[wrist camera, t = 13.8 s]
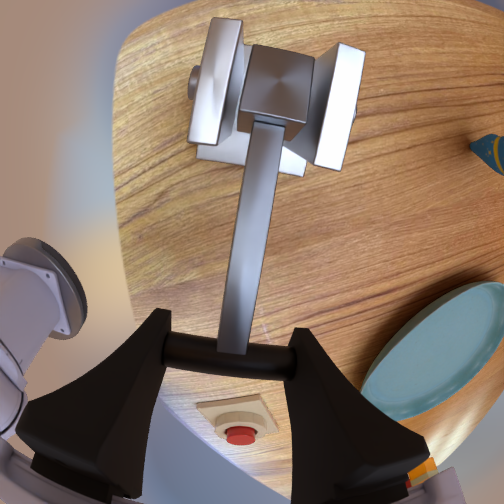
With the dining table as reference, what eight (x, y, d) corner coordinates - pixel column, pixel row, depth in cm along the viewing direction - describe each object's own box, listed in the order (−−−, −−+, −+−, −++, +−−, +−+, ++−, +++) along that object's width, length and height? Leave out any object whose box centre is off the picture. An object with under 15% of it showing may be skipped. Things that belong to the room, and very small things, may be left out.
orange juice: (417, 466, 63) (429, 505, 45) (406, 468, 61) (418, 510, 43) (433, 456, 60) (446, 496, 42) (423, 459, 58) (436, 501, 40)
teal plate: (440, 395, 34) (447, 409, 31) (321, 410, 31) (325, 430, 28) (520, 279, 23) (533, 291, 20) (413, 250, 21) (433, 269, 18)
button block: (197, 402, 30) (195, 419, 27) (259, 393, 29) (260, 411, 26) (226, 434, 34) (225, 448, 32) (278, 427, 33) (280, 441, 31)
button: (222, 426, 29) (222, 436, 27) (250, 423, 28) (250, 433, 27) (232, 437, 30) (232, 446, 29) (258, 433, 30) (258, 443, 29)
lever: (282, 363, 12) (293, 395, 9) (170, 349, 11) (158, 379, 9) (330, 92, 10) (352, 68, 8) (214, 68, 9) (212, 38, 7)
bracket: (300, 174, 18) (352, 228, 9) (197, 157, 17) (150, 194, 8) (324, 65, 14) (397, 23, 6) (218, 44, 14) (193, -25, 5)
